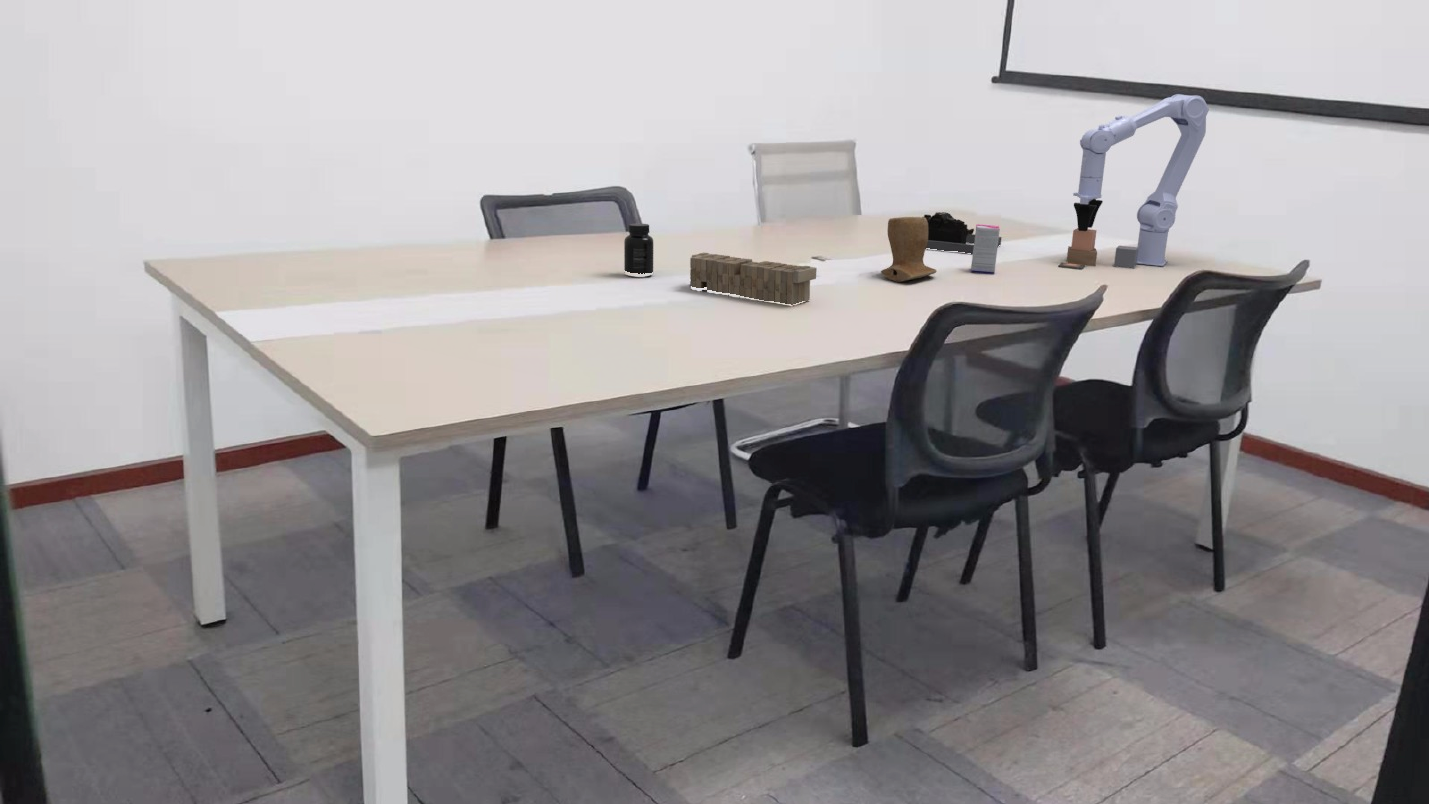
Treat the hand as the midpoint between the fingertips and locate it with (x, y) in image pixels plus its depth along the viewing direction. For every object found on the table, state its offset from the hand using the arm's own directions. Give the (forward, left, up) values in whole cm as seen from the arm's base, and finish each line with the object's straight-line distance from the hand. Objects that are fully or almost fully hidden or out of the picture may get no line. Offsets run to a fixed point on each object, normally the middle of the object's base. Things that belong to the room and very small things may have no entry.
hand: (1085, 229), depth 308 cm
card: (+8, -1, -9) cm, 12 cm away
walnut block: (0, 0, -9) cm, 9 cm away
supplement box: (+29, -19, -9) cm, 36 cm away
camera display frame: (-5, -37, -9) cm, 38 cm away
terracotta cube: (0, 0, -5) cm, 5 cm away
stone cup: (+49, -33, -9) cm, 60 cm away
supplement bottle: (+84, -87, -9) cm, 121 cm away
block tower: (+90, -56, -10) cm, 106 cm away
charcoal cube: (-2, +11, -9) cm, 14 cm away
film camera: (-2, -38, -9) cm, 39 cm away
